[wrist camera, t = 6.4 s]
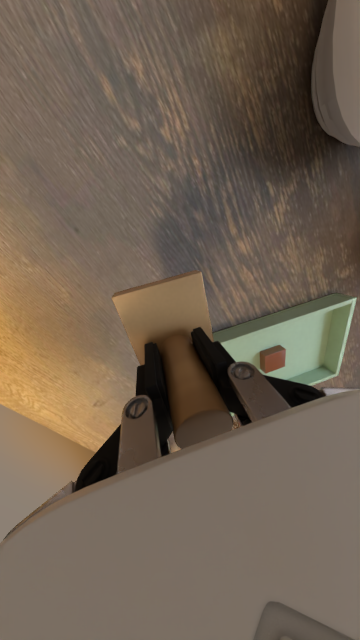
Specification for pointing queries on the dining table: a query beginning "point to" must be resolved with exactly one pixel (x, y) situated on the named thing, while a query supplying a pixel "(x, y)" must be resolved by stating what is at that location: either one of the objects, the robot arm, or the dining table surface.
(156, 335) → the brush
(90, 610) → the robot arm
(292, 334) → the tray
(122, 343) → the dining table surface
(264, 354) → the reddish brown square block
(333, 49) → the bowl
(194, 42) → the dining table surface
